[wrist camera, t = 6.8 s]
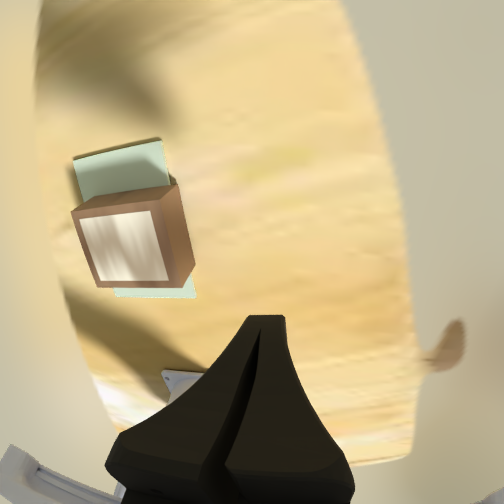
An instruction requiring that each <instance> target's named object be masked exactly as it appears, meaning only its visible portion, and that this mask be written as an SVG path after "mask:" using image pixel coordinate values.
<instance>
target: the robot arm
mask: <svg viewBox="0 0 504 504" xmlns="http://www.w3.org/2000/svg"><path fill="white" fill-rule="evenodd" d="M161 375H162V377H163V379H164V381H165V383H166V385H167V387H168V389H169V392H170V394H171V395H170V398H169V400H168V403H167V406H166V407H165V408H163V409H162V410H160V411H159V412H157V413H156V414H154V415H153V416H151V417H149V418H148V419H146V420H144V421H143V422H141V423H139V424H137V425H135V426H133V427H131V428H129V429H127V430H125V431H123V432H121V433H120V434H119V435H118V437H117V439H116V441H115V442H114V445H113V447H112V449H111V451H110V454H109V456H108V458H107V460H106V463H105V467H106V470H107V471H108V472H109V473H110V475H111V476H113V477H114V478H115V479H116V480H117V481H118V483H117V486H116V489H115V492H114V495H111V494H108V493H105V492H102V491H100V490H97V489H95V488H92V487H89V486H87V485H85V484H82V483H80V482H77V481H75V480H72V479H70V478H68V477H66V476H64V475H61V474H59V473H57V472H55V471H53V470H51V469H49V468H47V467H45V466H43V465H41V464H39V462H38V461H37V460H36V459H35V458H34V457H32V456H31V455H29V454H28V453H27V452H25V451H23V450H21V449H20V448H18V447H16V446H14V445H12V444H10V446H9V447H8V449H7V451H6V452H5V454H4V456H3V458H2V459H1V461H0V494H1V495H2V496H3V497H5V498H6V499H7V500H9V501H10V502H12V503H13V504H350V501H351V499H352V496H353V494H354V492H355V483H354V478H353V475H352V472H351V470H350V467H349V464H348V462H347V460H346V458H345V455H344V453H343V451H342V450H341V449H340V448H339V446H338V445H337V444H336V442H335V441H334V440H333V438H332V437H331V436H330V434H329V433H328V431H327V430H326V428H325V427H324V425H323V424H322V422H321V420H320V419H319V417H318V415H317V414H316V412H315V410H314V409H313V407H312V405H311V403H310V401H309V400H308V398H307V396H306V394H305V392H304V389H303V387H302V385H301V383H300V380H299V378H298V376H297V373H296V370H295V368H294V365H293V362H292V359H291V356H290V352H289V349H288V345H287V333H286V322H285V317H284V316H283V315H249V316H248V317H247V318H246V319H245V321H244V323H243V324H242V326H241V327H240V329H239V330H238V332H237V333H236V335H235V336H234V338H233V339H232V340H231V342H230V343H229V344H228V346H227V347H226V348H225V350H224V351H223V352H222V354H221V355H220V356H219V357H218V358H217V360H216V361H215V362H214V363H213V364H212V365H211V367H210V368H209V369H208V370H207V371H206V372H205V373H196V372H184V371H173V370H163V371H162V373H161ZM472 504H504V487H502V488H500V489H498V490H496V491H494V492H492V493H490V494H489V495H487V496H486V497H485V498H484V499H483V500H481V501H478V502H475V503H472Z"/></svg>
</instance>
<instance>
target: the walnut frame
mask: <svg viewBox="0 0 504 504" xmlns="http://www.w3.org/2000/svg"><path fill="white" fill-rule="evenodd" d="M71 215H72V218H73V221H74V224H75V228H76V231H77V234H78V237H79V239H80V242H81V245H82V248H83V251H84V254H85V256H86V259H87V262H88V265H89V267H90V270H91V272H92V275H93V278H94V280H95V283H96V285H97V287H102V288H183V286H184V284H185V282H186V281H187V279H188V277H189V275H190V273H191V272H192V270H193V268H194V266H195V260H194V255H193V251H192V247H191V242H190V238H189V234H188V229H187V225H186V220H185V215H184V211H183V206H182V201H181V197H180V192H179V187H178V184H174V185H166V186H158V187H151V188H144V189H137V190H130V191H124V192H117V193H111V194H105V195H99V196H94V197H92V198H91V199H89V200H87V201H86V202H84V203H83V204H81V205H80V206H78V207H77V208H76V209H74V210H73V211H71Z"/></svg>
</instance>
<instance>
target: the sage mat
mask: <svg viewBox="0 0 504 504" xmlns="http://www.w3.org/2000/svg"><path fill="white" fill-rule="evenodd" d="M73 164H74V168H75V172H76V176H77V180H78V184H79V187H80V191H81V195H82V198H83V202H86V201H87V200H89V199H91V198H92V197H94V196H99V195H105V194H111V193H117V192H124V191H130V190H137V189H144V188H151V187H158V186H166V185H171V184H170V179H169V174H168V169H167V164H166V159H165V154H164V149H163V144H162V140H160V141H155V142H150V143H145V144H140V145H135V146H131V147H126V148H122V149H117V150H113V151H109V152H104V153H100V154H96V155H92V156H88V157H84V158H81V159H77V160H74V161H73ZM113 290H114V293H115V295H116V297H141V298H196V297H197V294H196V290H195V286H194V282H193V279H192V275H191V273H190V275H189V277H188V279H187V281H186V282H185V284H184V286H183V288H113Z"/></svg>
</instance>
